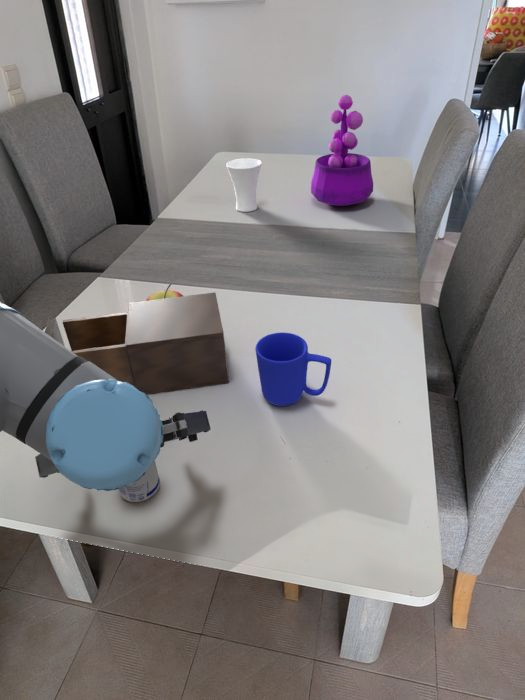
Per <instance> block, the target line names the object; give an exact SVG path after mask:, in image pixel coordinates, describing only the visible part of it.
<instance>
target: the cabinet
mask: <svg viewBox="0 0 525 700" xmlns="http://www.w3.org/2000/svg"><path fill="white" fill-rule="evenodd" d="M128 312H129V313H128V326H127V338H126V348H127V352H128V356H129V360H130V364H131V368H132V372H133V376H134V380H135V384H136V386H135V388H136V389H137V390H139V391H141V392H143V393H145V394H146V395H147V396H148V395H153V394H154V395H155V394H162V393H167V392H173V391H174V392H175V391H182V390H189V389H194V388H195V389H196V388H202V387H208V386H209V387H210V386H217V385H222V384H230V383H229V382H230V380H229V371H228V361H227V355H226V345H225V335H224V328H223V323H222V318H221V314H220V313H221V312H220V309H219V303H218V299H217V292H207V293H206V292H205V293H199V294H198V293H197V294H190V295H183V296H181V297H173V298H165V299H157V300H149V301H146V300H142V301H134V302H129V303H128Z"/></svg>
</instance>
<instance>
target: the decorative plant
mask: <svg viewBox="0 0 525 700" xmlns="http://www.w3.org/2000/svg"><path fill="white" fill-rule="evenodd" d="M353 103H354V101H353V99H352V96H350V95H349V94H343V95H342V96H340V97H339V100H338V102H337V104H338V107H339V109H337V110H336V109H335V110H333V111H332V112H331V113H330V118H329V119H330V121H331V122H332V123H333V124H335V125H337V124H340V129H336V130H334V132H333V133H332V139H331V140H330V142H329V144H328V148H329V151H330V152H331V153H329V154H325V155H321V156H319V157H317V158H316V160H315V162H314V163H315V164H314V170H313V175H312V178H311V182H310V193H311V195H312V196H313V197H314V198H315V199H316V200H317V201H318V202H320V203H322V204H326V205H330V206H337V207H347V206H351V205H357V204H360V203H362V202H364V201H367V199H368V198H369V197H370V196H371V195H372V194H373V192H374V179H373V174H372V164H371V159H370V158H369V157H368V156H366V155H363V154H360V153H354V152H353V153H352V152H349V150H350V151H352V150H354V149H355V148H356V147H357V146H358V144H359V142H358V138H357V136H356V134H355V133H354V132H351V131H355V130H357V129H359V128H361V126H362V125H363V123H364V118H363V114H362V113H361V112H359V111H357V110H353V111H350V112H349V113H347V110H349V109H351V108H352V106H353V105H354V104H353ZM340 109H341V110H342V111H343V112H342V111H341V110H340ZM349 129H350V130H351V131H348V130H349Z"/></svg>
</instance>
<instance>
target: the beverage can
mask: <svg viewBox="0 0 525 700" xmlns="http://www.w3.org/2000/svg"><path fill="white" fill-rule="evenodd" d="M160 485H161V480H160V476H159V471H158V467H157V464H156V460H155V461H154V462H153V464H152V465H151V466H150V468H149V469H148V470H147V471H146V474H145V475H144V476H143V477H141V478H140V479H139V480H137V481H136V482H135V483H133V484H132V486H131V487H127V488H125V487H121V488H120V489H117V490H118V492H119V495H120V497H121V498H122V499H124V500H125V501H128V502H130V503H138V502H143V501H146V500H148V499H150V498H151V497H153V496H154V495H155V494H156V493H157V491H158V490H159V488H160Z"/></svg>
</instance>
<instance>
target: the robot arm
mask: <svg viewBox="0 0 525 700" xmlns="http://www.w3.org/2000/svg"><path fill="white" fill-rule="evenodd" d="M71 351H72V350H71V349H69V348H68V347H66V345H65V346H63V345H62V344H60V343H59V342H58V341H56V340H55V339H53V338H52V337H51V336H49V335H48V334H46V333H45V330H42V329H41V328H40V327H38V326H37V325H36V324H34V323H33V322H31V321H30V320H29V319H27V318H26V317H25V316H24V315H23V314H22V312H20V311H18V310H17V309H15V308H13V307H10V306H8V305H6V304H5V303H3V302H2V301H0V433H1V432H4V433H6V434H8V435H10V436H11V437H13V438H15V439H16V440H18V441H19V442H21V443H23V444H24V445H26V446H28V447H30V448H31V449H33V450H34V451H35V452H38V453H39V454H38V455H36V456H34V457H35V458H34V459H35V462H36V463H35V464H36V468H37V473H38V476H39V478H43V479H45V478H47V477H49V476H50V475H54V474H61V475H62V476H63V477H64V478H66V479H67V480H68V481H70V482H72V483H73V484H75V485H77V486H80V487H82V488H84V489H86V490H96V491H106V492H109V491H116V490H118V489H120V488H121V487H125V488H127V487H131V486H132V484H133V483H135V482H136V481H137V480H139V479H140V478H141V477H143V476H144V475H145V474H146V471H147V470H148V469H149V468H150V466H151V465H152V464H153V462H154V461H155V462H156V459H157V458H158V456H159V455H160V453H161V450H162V448H164V446H165V443H167V442H172V441H175V440H178V441H183V440H186V439H187V438H188V441H189V443H192V442H195V441H198V440H199V439H198V434H200V433H208V432H209V431H211V430H212V428H211V424H210V420H209V417H208V412H207V410H203V409H202V410H199V411H192V412H181V411H180V412H175V414H173V415H172V416H169V417H168V419H164V420H162V419H161V414H159V411H158V408H157V407H156V406H155V405H154V402H153V400H152V399H151V397H149V396H148V394H147V395H146V394H145V393H143V392H141V391H139V390H137V389H136V386H133V385H131V384H129V383H127V382H121V381H118V380H116V379H115V378H113V377H112V376H111V375H109V374H108V373H106V372H105V371H103V370H102V369H100V368H99V367H97V366H96V365H94V364H93V363H91V362H89V361H87V360H85V359H84V358H82V357H79V356H77V355H76V354H74V353H73V352H71Z"/></svg>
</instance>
